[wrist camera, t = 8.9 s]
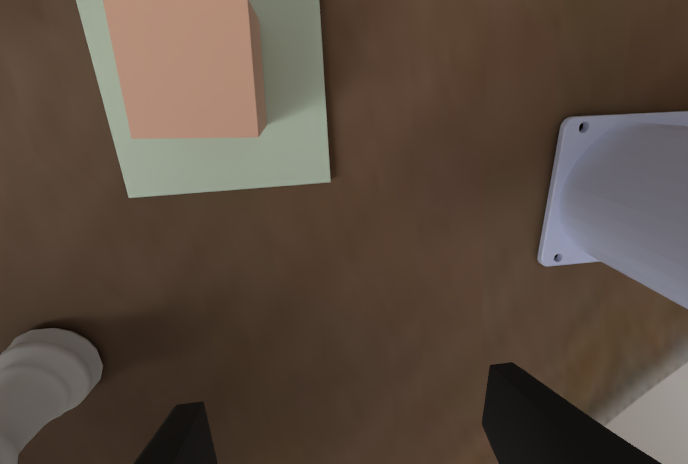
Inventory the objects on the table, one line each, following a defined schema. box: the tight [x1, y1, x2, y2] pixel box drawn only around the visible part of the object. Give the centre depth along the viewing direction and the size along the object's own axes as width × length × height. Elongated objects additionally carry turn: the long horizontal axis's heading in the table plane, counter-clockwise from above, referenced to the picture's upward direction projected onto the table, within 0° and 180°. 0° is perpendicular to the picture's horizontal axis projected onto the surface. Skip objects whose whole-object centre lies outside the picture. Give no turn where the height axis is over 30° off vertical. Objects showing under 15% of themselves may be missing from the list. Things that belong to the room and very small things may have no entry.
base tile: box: [76, 0, 331, 198], centre depth 16 cm, size 9×9×1 cm
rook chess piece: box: [0, 328, 103, 464], centre depth 15 cm, size 4×4×8 cm
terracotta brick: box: [103, 0, 267, 139], centre depth 13 cm, size 4×4×4 cm
